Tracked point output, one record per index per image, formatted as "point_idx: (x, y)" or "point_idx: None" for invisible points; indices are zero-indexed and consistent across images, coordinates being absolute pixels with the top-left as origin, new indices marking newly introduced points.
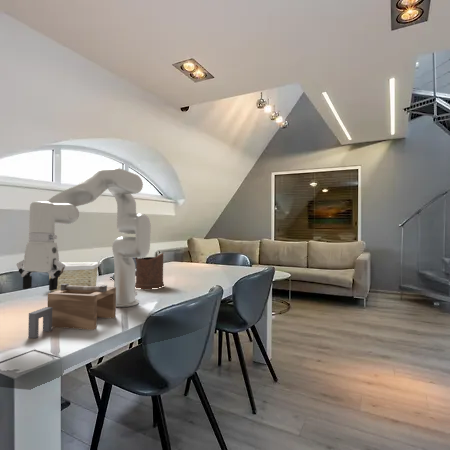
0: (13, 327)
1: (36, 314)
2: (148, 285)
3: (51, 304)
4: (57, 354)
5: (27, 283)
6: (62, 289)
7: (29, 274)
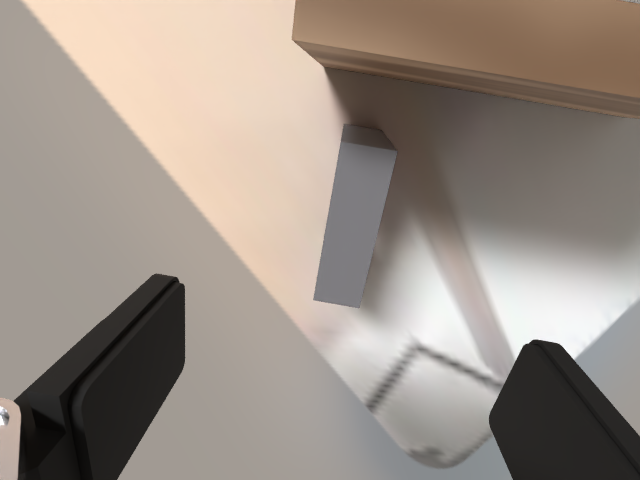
0: (143, 85)
1: (360, 295)
2: None
3: (348, 59)
4: None
5: (153, 381)
6: None
7: (25, 474)
